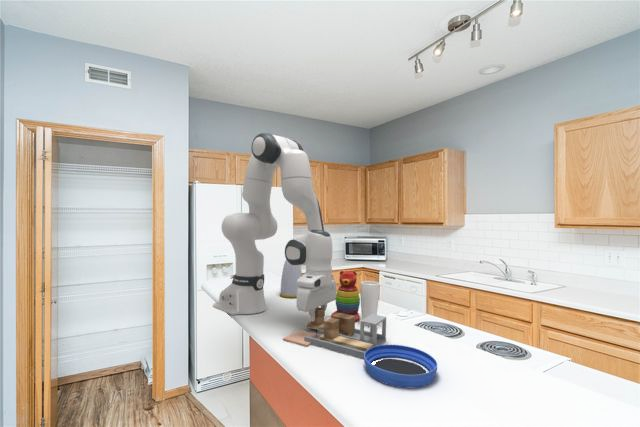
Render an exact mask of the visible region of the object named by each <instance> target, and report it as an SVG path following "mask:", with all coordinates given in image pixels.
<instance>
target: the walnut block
mask: <svg viewBox="0 0 640 427" xmlns="http://www.w3.org/2000/svg"><path fill="white" fill-rule="evenodd" d="M332 318H335V319H339V332H343V333H347V334H349V333H351V332H352V331H354V330H355V329H356V322H355V316H353V315H348V314H343V313H337V314H335V315H333V316H332Z"/></svg>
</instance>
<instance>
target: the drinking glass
mask: <svg viewBox="0 0 640 427" xmlns="http://www.w3.org/2000/svg"><path fill="white" fill-rule="evenodd" d="M359 289H360V290H359V291H360V292H359V297H360V310H361V314H360V315H361V320H363V319H364V318H366V317H368V316H369V315H371V314H374V315H378V307H379V300H380V299H379V298H380V283H379V282H377V281H374V280H364V281H361V282H360V288H359ZM364 326H367V327H370V325H368V324H365V325H364Z"/></svg>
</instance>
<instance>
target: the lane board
mask: <svg viewBox="0 0 640 427" xmlns="http://www.w3.org/2000/svg"><path fill="white" fill-rule="evenodd" d="M359 321H360V322H359V324H360V325H359V328H355V330H354V334H353V335H352V336H345V335H341V334H339V336H342V337H346V338H350V339H354V340H358V341H362V342H366V343H370V344H374V346H378V345H384V343H386V341H387V316H384V315H378V314H377V315H374V314H371V315H369V316H368V317H366V318H364V319H363V320H362V319H360V320H359ZM365 324H368V325H370V326H369V330H365V326H366V325H365ZM380 324H382V326H381V333H378V325H380ZM315 334H316V335H317V336H316V335H314V336H316V337H313V336H312V338H311V337H308V336H305V337H304V341H307V342H311V345H312V346H315V347H318V348H322V349H327V350H330V351H333V352H337V353H340V354H344V355H346V356H350V355H351V356H350V357H354V358H357V359H362V360H364V353H365V351H361V350H357V349H353V348H349V347H346V346H342V345H338V344H334V343H330V342H327V341H323V340H319V337H318V335H320V336H321V335H323V334H324V330H321V329H318V330H317V333H315ZM315 338H317V339H315ZM311 345H310V346H311Z"/></svg>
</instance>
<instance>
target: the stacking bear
mask: <svg viewBox="0 0 640 427" xmlns="http://www.w3.org/2000/svg"><path fill="white" fill-rule="evenodd" d="M338 279H339V280H338V281H339V284H340V285H339V286H338V288H337V289H336V294H337V296H336V299H335V307H336V311H333V312H332V313H331V315H330V318H332V316H333V315H335V314H337V313H343V314H348V315H353V316H355V323H358V322H359V321H361V319H360V318H361V316H360V314H359V309H360V306H361V296H360V292H359V290H358V287H357V286H356V284H357V279H358V278H357V272H356V271H351V270H346V271H345V270H341V271H340V272H339V278H338Z"/></svg>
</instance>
